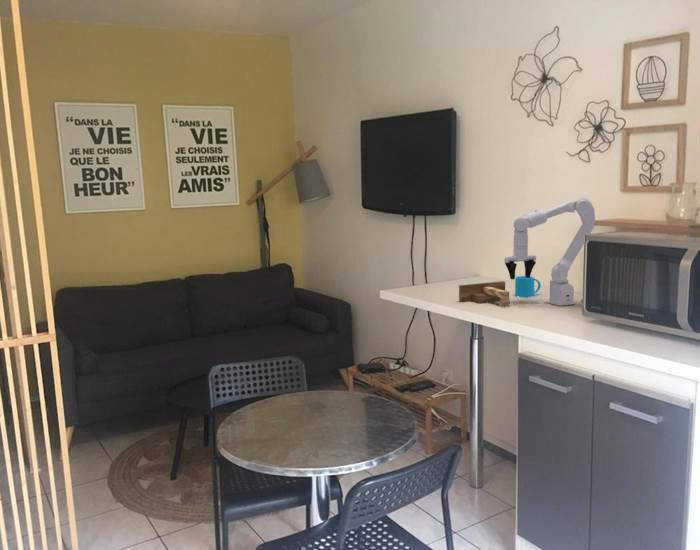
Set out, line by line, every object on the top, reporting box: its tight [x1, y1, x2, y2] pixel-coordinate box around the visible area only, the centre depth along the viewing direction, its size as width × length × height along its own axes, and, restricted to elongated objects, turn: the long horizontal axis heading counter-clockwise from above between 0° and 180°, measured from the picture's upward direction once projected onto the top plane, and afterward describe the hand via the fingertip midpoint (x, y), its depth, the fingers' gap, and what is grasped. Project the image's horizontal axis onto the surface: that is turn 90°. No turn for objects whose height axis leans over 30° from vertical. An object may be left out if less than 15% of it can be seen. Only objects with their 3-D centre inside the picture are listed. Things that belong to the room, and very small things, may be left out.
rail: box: [484, 287, 510, 308], centre depth 264 cm, size 14×3×6 cm, turn 21°
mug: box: [514, 275, 542, 298], centre depth 280 cm, size 12×8×8 cm
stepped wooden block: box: [458, 280, 506, 304], centre depth 270 cm, size 8×22×7 cm, turn 112°
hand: (520, 278), depth 266 cm, fingers open, 7 cm apart
